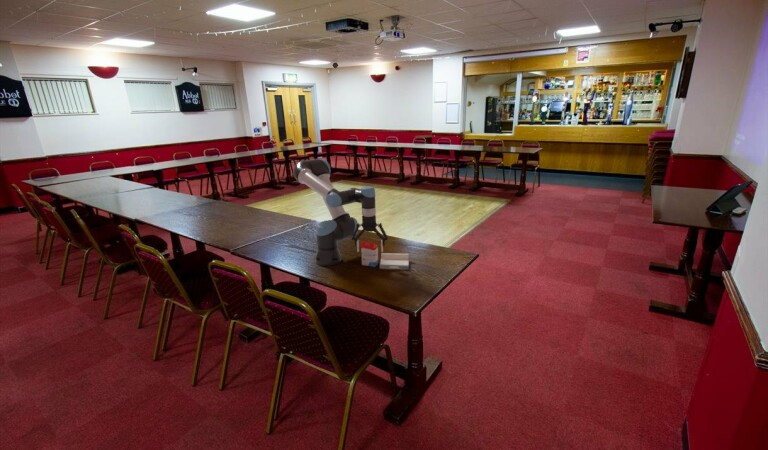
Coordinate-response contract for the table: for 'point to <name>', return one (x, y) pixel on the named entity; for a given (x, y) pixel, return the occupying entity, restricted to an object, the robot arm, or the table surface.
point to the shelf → (394, 261)
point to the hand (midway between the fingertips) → (370, 251)
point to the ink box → (369, 253)
